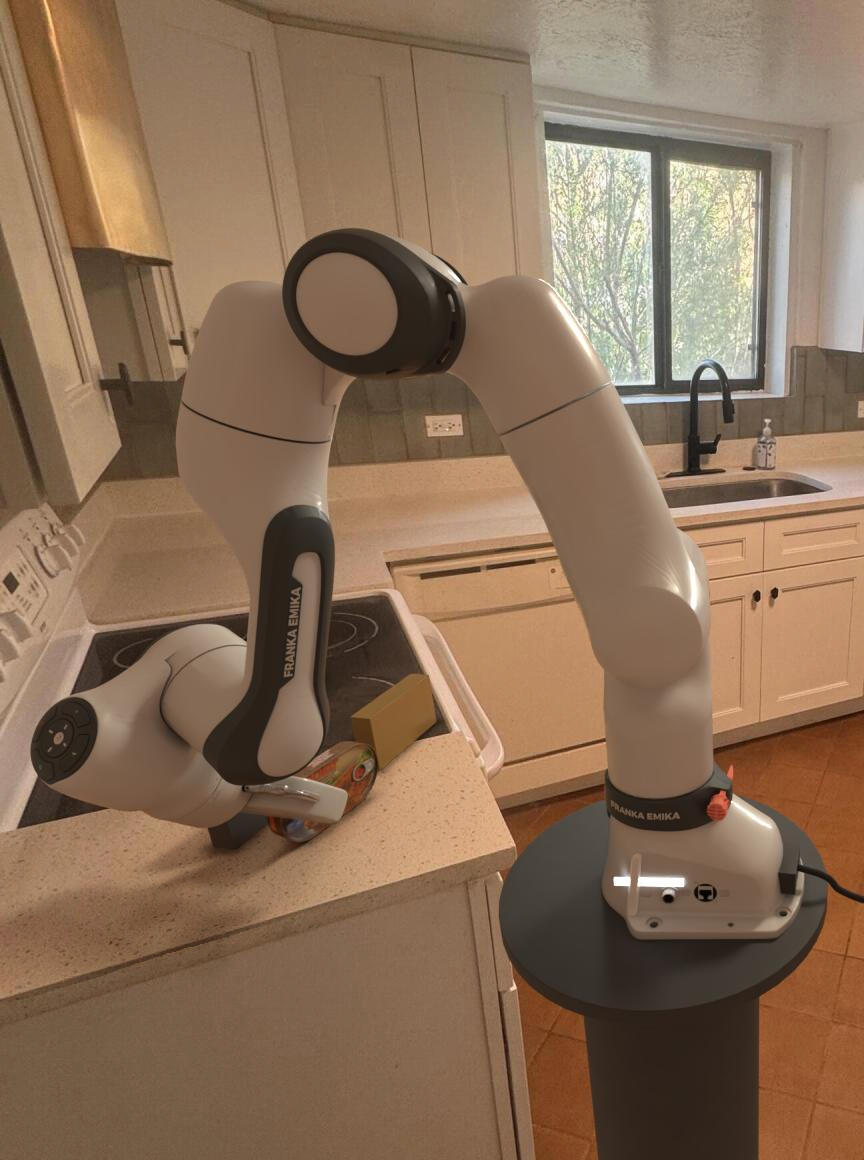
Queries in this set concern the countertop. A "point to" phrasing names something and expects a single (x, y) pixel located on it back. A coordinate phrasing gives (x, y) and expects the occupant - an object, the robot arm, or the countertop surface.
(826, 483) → the countertop surface
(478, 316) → the robot arm
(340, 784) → the tin
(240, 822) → the grey rectangular block
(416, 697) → the khaki rectangular brick
